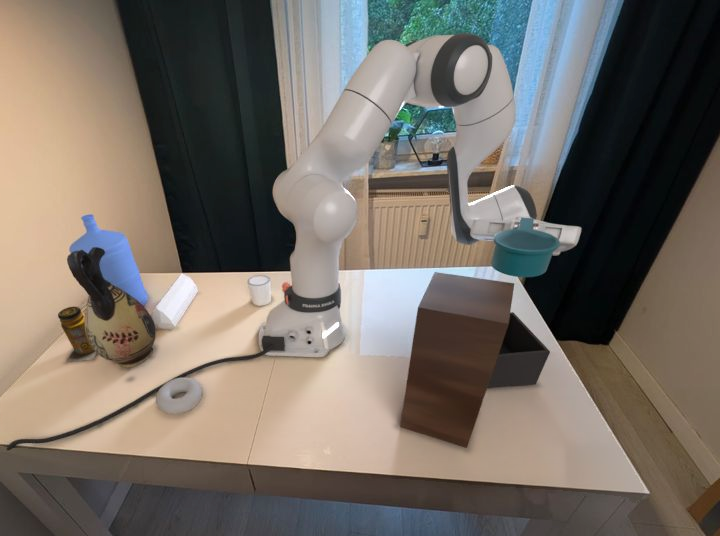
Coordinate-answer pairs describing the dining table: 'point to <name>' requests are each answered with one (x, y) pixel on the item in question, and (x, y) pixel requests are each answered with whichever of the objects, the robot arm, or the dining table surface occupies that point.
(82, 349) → the condiment
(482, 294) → the walnut wood pedestal
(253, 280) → the shot glass
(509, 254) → the cup
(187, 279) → the white hexagonal prism
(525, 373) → the dark grey open box
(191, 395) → the donut
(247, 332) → the dining table surface
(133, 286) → the water jug
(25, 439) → the robot arm
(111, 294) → the ceramic jug
